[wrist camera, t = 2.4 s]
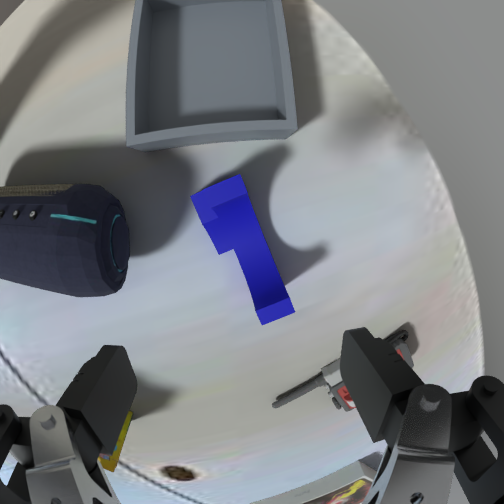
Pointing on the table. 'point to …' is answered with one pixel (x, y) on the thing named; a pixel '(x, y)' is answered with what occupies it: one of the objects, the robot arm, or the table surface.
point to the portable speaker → (63, 238)
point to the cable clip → (243, 244)
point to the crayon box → (116, 447)
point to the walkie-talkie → (335, 382)
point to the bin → (208, 73)
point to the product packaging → (331, 488)
